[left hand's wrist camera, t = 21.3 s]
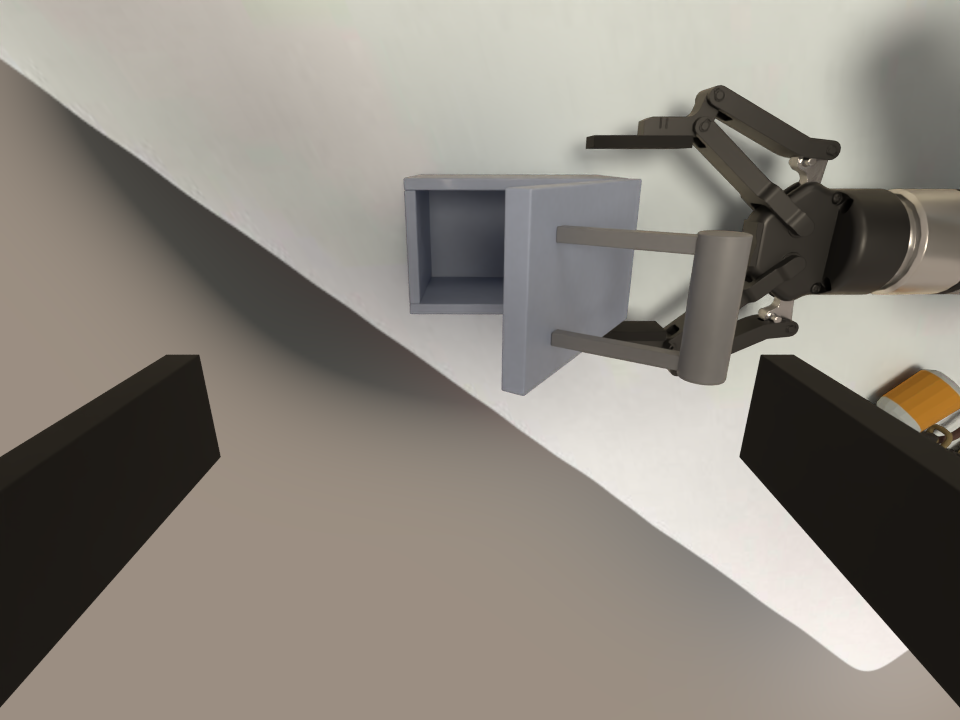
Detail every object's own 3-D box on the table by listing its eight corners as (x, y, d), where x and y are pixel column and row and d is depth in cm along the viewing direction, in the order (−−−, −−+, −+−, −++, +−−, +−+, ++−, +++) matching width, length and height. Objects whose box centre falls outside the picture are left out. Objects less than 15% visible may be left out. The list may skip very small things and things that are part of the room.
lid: (500, 390, 24) (705, 444, 19) (504, 187, 21) (751, 195, 16) (609, 316, 36) (753, 338, 31) (622, 178, 32) (785, 181, 28)
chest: (424, 283, 45) (409, 314, 36) (420, 174, 42) (403, 178, 33) (588, 283, 45) (616, 314, 36) (596, 174, 42) (629, 178, 33)
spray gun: (1031, 405, 50) (916, 516, 55) (908, 337, 46) (798, 463, 52) (1080, 429, 46) (951, 545, 51) (949, 357, 42) (826, 490, 48)
